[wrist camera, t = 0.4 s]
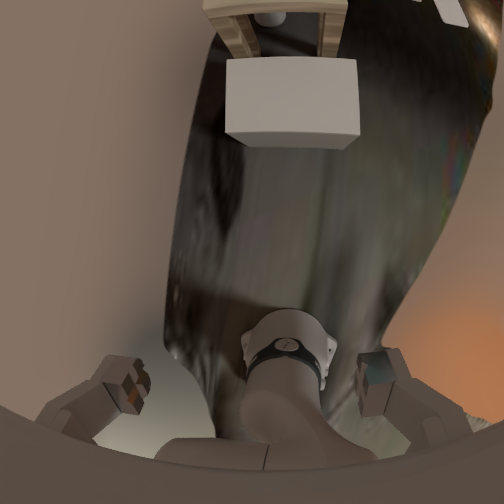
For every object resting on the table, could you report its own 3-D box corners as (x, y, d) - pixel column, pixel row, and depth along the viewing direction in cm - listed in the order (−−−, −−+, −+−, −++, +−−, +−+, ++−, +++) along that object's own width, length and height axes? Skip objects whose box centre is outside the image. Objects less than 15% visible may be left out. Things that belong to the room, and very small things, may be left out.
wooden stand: (329, 83, 44) (347, 4, 19) (249, 83, 46) (202, 9, 21) (327, 50, 42) (339, -40, 17) (249, 50, 45) (206, -34, 20)
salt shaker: (281, 35, 43) (273, -2, 30) (251, 28, 43) (236, -8, 31) (290, 12, 41) (285, -26, 29) (262, 6, 42) (249, -31, 29)
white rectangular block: (342, 149, 46) (359, 134, 31) (249, 147, 49) (225, 132, 34) (341, 94, 44) (355, 59, 29) (249, 93, 47) (226, 59, 31)
